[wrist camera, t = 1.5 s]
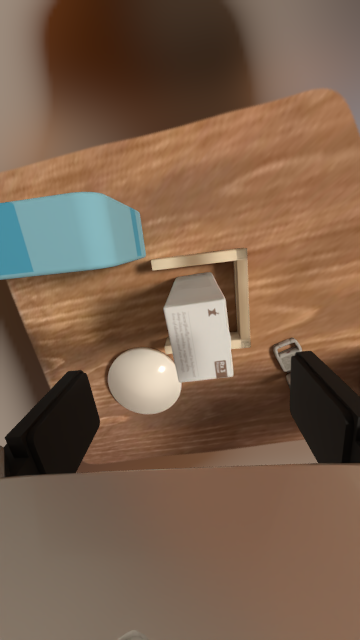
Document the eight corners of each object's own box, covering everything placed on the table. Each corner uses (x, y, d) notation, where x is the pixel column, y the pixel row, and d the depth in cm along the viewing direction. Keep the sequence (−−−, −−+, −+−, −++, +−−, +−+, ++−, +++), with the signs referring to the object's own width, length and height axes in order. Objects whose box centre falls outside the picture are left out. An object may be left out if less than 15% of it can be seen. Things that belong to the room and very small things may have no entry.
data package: (142, 212, 25) (95, 188, 14) (149, 256, 26) (111, 268, 15) (36, 226, 26) (-88, 214, 15) (48, 267, 27) (-58, 286, 16)
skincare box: (174, 277, 27) (155, 304, 15) (213, 270, 26) (225, 293, 15) (183, 327, 29) (172, 385, 17) (220, 322, 28) (235, 379, 17)
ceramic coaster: (176, 344, 29) (176, 346, 29) (185, 408, 32) (185, 412, 31) (102, 350, 30) (100, 353, 30) (118, 411, 33) (116, 415, 32)
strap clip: (269, 344, 29) (280, 361, 25) (294, 334, 28) (309, 350, 24) (293, 398, 31) (307, 422, 27) (317, 390, 30) (335, 413, 26)
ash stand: (242, 247, 25) (246, 248, 23) (246, 338, 28) (250, 347, 26) (155, 258, 26) (150, 260, 24) (168, 345, 29) (165, 354, 27)
